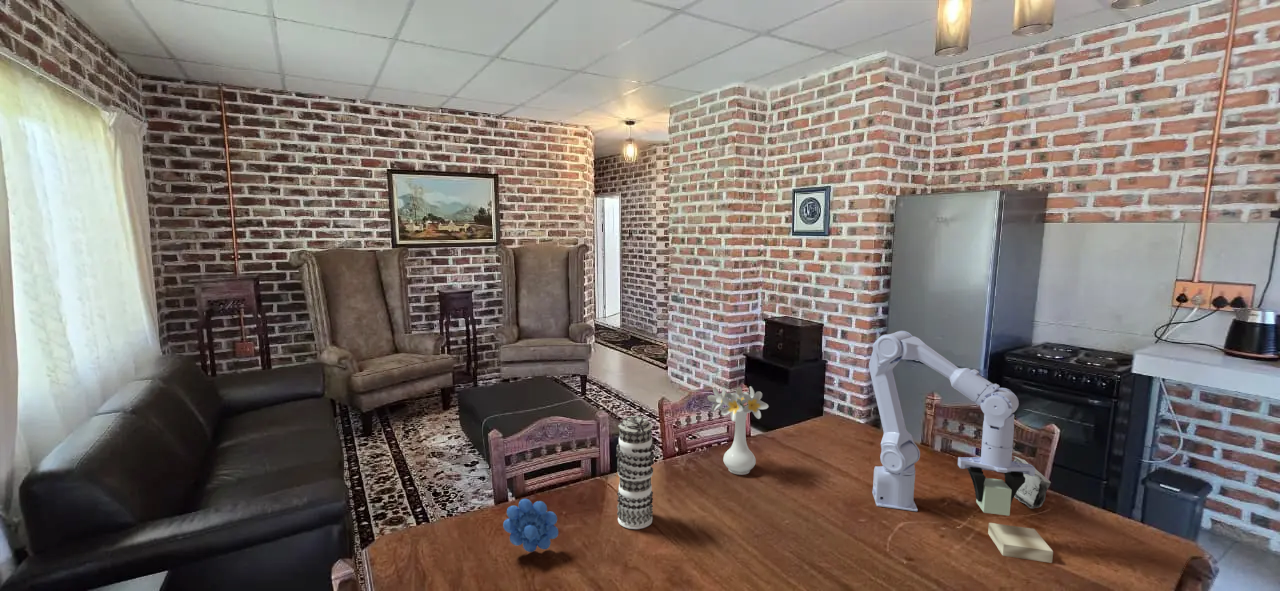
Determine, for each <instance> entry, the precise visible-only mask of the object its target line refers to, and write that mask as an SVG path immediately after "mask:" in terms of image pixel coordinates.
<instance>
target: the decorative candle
mask: <svg viewBox="0 0 1280 591" xmlns="http://www.w3.org/2000/svg"><path fill="white" fill-rule="evenodd" d="M617 427H618V428H619V436H618V444H617V445H616V449H615V450H616V454H615V457H617V461H616V466H617V468H616V471H617V475H618V477H619V484H618V489H617V490H618V491H617V493H616V496H618V497H617V500H616V501H617V506H616V509H617V513H616V515H617V522H618V524H619V525H620V526H622V527H623V528H626V529H629V530H640V529H645V528H647V527H649V526H650V525H651V524H652V523H653V513H654V511H653V510H654V509H653V507H654V506H653V500H654V499H653V496H654V495H653V494H654V491H652V490H653V489H652V485H653V484H652V477H653V475H654V468H653V467H652V466H653V465H654V463H655V460H654V458H655V454H654V452H652V451H655V449H656V448H655V447H656V446H655V445H654V442H655V440H653V437H652V429H653V423H652V422H650V421H649V420H648V419H647V418H646V417H644V416H641V415H640V416H639V415H631V416H627V417H625V418H623V419H622V421H621V422H619V423H618V425H617Z"/></svg>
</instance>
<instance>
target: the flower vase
mask: <svg viewBox="0 0 1280 591" xmlns="http://www.w3.org/2000/svg"><path fill="white" fill-rule="evenodd" d="M712 390H713V391H712V392H713V395H712V394H709V395H708V396H707V400H708V401H709V402H710V403H713V404H712V407H711V412H712V413H715V412H716V411H717V410H718V409H719V411H721V412H720V414H721V416H728V415H729V414H730V420H731V422H734V423H735V424H734V434H733V436H734V438H733V442H732V444H731V445H730V447H729V449H727V451H725V452H724V455H723V458H722V460H723V463H724V465H725V467H726V468H728V472H730V473H731V474H734V475H738V476H741V475H747V474H749V473H750V472H751V470H752V469H753V468H754V467H755V465H756V461H757V460H756V457H755V455H754V453H753V452H752V451H751V450H750V448H749V446H748V443H747V438H746V435H747V434H746V422H747V414H750V413H751V412H752V414H753V415H754V417H755V418H756V419H758V420H760V419H761V418H762V413H761V411H760V410H767V409H768V408H769V407H770V406H769V404H768V403H766V402H764V401H762V400H761V399H762V398H763V393H762V392H761V391H756V392H755V390H754V388H753V386H749V391H744V392H743V388H742V387H741V386H737V388H736V390H735V392H727V389H726V388H725V386H723V388H722V390H721V391H722V392H719V391H718V389H717V387H716V386H713V389H712ZM745 404H746V405H745ZM723 406H725V407H723Z"/></svg>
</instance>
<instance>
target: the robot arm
mask: <svg viewBox="0 0 1280 591" xmlns="http://www.w3.org/2000/svg"><path fill="white" fill-rule="evenodd" d="M871 346H872V352H871V356H870V358H869V363H868V369H869V374H870V377H871V383H872V387H873V391H874V396H875V400H876V404H877V409H878V413H879V416H880V417H879V418H880V422H881V426H882V430H883V431H882V432H883V435H882V438H881V442H880V448H881V452H880V456H879V457H880V463H881V464H882V465H880V466H879V465H875V466H874V469H873V482H872V484H873V485H872V491H871V492H872V496H873V499H874V502H875V506H876V507H880V508H881V507H883V508H889V509H895V510H896V509H897V510H903V511H910V512H918V507H917V504H916V503H915V501H914V494H915V480H916V468H915V464H916V463H917V462H918V461H919V460H920V457H921V451H920V449H919V447H918V445H917V444H916V443H915V441H914V438H913V434H911V433H910V432H909V431H908V430H907V427H906V423H905V418H904V414H903V410H902V405H901V401H900V396H899V393H898V392H899V391H898V388H897V384H896V379H895V376H894V370H893V369H894V368H895V367H896V366H897V365H898V363H900V361H901V360H902V361H903V360H907V361H908V360H910V361H911V360H912V361H919V362H921V363H922V364H924V365H925V366H927V367H929V368H930V369H932V370H934V371H936V373H939V374H941V375H942V376H943V377H945V378H947V379H948V380H949V381H950V385H951V388H953V389H954V390H956V391H957V392H959V393H960V394H962V395H963V396H965V397H966V398H967V399H969V400H970V401H972V402H973V403H975V404H976V405H978V406H980V410H981V411H982V413H983V422H982V437H981V450H980V456H973V457H970V456H969V457H967V456H966V457H965V456H964V457H961V456H958V457H957V466H958V467H959V469H963V470H964V469H967V471H968V474H969V476H970V479H971V481H972V484H973V488H974V494H975V499H977V500H978V501H979V502H982V499H983V486H984V481H985V478H987V477H986V475H984V471H993V472H997V473H1003V474H1004V482H1005V483H1006V484H1007V485H1008V486H1009V487H1010V489H1011V490H1012V492H1011V504H1010V506H1011V505H1012V502H1013V500H1014V498H1015V497H1014V496H1015V494H1016V492H1017V491H1018V489H1019V488H1020V487H1021V486H1022V485H1023V484H1024V483H1025V477H1024V476H1023V474H1028V475H1029V476H1035V469H1036V467H1035V466H1034V465H1032V464H1030V463H1028V464H1024V463H1019V462H1014V460H1012V459H1013V449H1014V448H1013V447H1014V435H1015V434H1014V433H1015V431H1014V430H1015V424H1014V423H1015V414H1014V413H1015V412H1016V411H1017V410H1018V408H1019V406H1020V403H1019V402H1020V401H1019V398H1018V397H1017V395H1016V394H1015V393H1014V392H1013V391H1012V390H1011V389H1009V388H1006V387H1000V385H999V384H997V383H993V382H991V381H990V380H988V379H986V378H985V377H983V376H981V375H980V374H979V373H980V371H979V370H977V369H975V368H973V369H971V368H969V367H963V368H960V367H958V366H957V365H956V364H954V363H953V362H951V361H950V360H948V359H947V358H946V357H945V356H943V355H941V354H940V353H938V352H937V351H936V350H934V349H933V348H932V347H930V346H929V345H927V344H926V343H925V342H924V341H923V340H921V339H920V338H919V337H917V336H913V335H912V333H910V332H908V331H906V330H898V331H896V332H892V333H888V334H882V335H880V336H879V337H878V338H877V339H876V340H875V341H874V343H873V344H871Z"/></svg>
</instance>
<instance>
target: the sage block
mask: <svg viewBox="0 0 1280 591" xmlns="http://www.w3.org/2000/svg"><path fill="white" fill-rule="evenodd" d="M1011 492H1012V490H1011V489H1010V487H1009V486H1008V485H1007V484H1006V483H1005V480H1003V479H997V478H991V477H990V478H988V477H986V478H985V481H984V486H983V499H982V502H979V501H978V500H977V499H976V498H975V499H976V500H975V502H976V504H977V506H979V508H980V509H981V511H982V512H983V513H984V514H992V515H993V514H994V515H1000V516H1007V517H1008V516H1010V514H1011V505H1012V503H1011ZM1010 504H1011V505H1010Z"/></svg>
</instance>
